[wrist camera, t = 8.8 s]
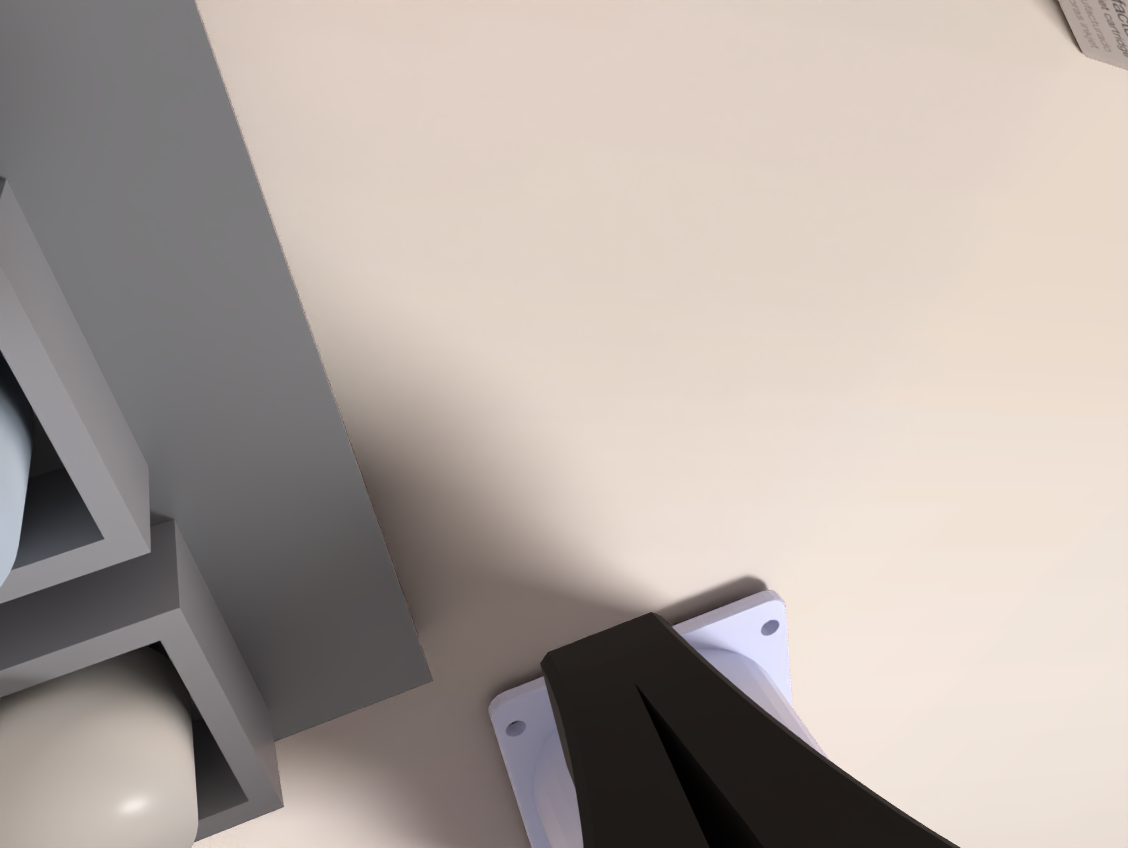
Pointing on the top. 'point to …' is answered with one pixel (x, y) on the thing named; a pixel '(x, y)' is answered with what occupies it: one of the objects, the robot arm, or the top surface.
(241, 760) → the panel
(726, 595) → the top surface
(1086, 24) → the ink box
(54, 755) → the ivory button
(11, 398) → the slate button
